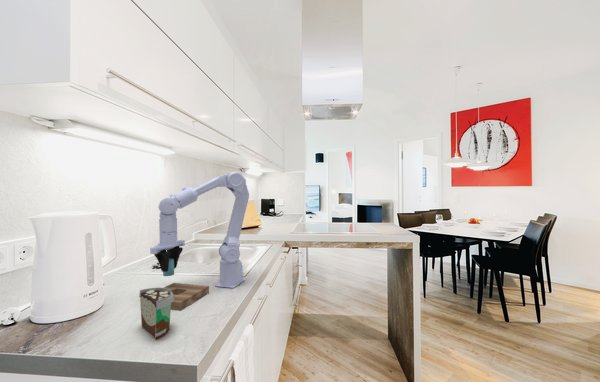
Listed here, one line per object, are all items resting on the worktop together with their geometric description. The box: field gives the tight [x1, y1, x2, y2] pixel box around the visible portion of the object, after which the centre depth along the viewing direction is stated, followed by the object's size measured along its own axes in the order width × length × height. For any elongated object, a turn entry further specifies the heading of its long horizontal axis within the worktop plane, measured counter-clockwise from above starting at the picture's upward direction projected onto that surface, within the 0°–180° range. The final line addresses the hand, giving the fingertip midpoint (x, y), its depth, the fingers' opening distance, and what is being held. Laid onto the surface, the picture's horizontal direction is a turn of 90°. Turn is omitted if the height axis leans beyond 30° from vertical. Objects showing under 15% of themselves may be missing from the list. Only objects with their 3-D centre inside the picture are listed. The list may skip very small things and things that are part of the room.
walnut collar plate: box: [163, 282, 210, 311], centre depth 94 cm, size 15×15×2 cm
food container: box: [138, 287, 174, 341], centre depth 74 cm, size 12×6×10 cm, turn 48°
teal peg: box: [162, 258, 175, 277], centre depth 98 cm, size 4×4×6 cm
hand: (169, 269), depth 98 cm, fingers closed on teal peg, 4 cm apart
